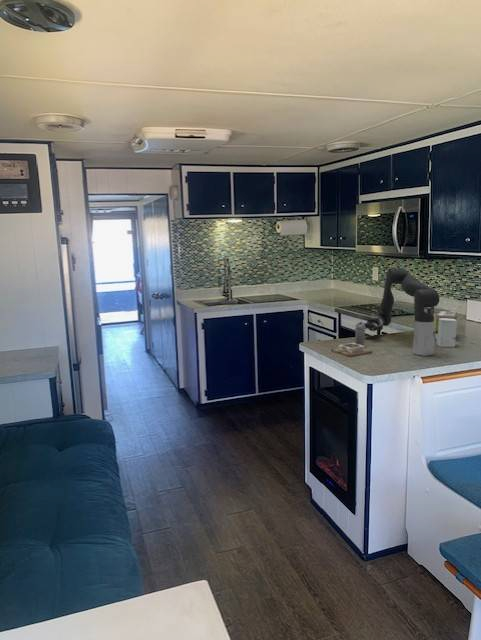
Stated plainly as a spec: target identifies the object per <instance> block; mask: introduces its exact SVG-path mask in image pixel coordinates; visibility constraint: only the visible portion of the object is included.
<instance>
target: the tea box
mask: <svg viewBox="0 0 481 640" xmlns="http://www.w3.org/2000/svg"><path fill="white" fill-rule="evenodd" d="M439 318H446V319H455V320H457V321H458V311H450V310H449V311H448V310H447V311H446V310H445V311H443V310H439V312H438V313H437V314H436V317H435V340H436V341H437V337H438V325H439ZM457 329H458V328H457ZM457 329H456V336H457V333H458V331H457Z"/></svg>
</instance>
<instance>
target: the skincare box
mask: <svg viewBox="0 0 481 640" xmlns="http://www.w3.org/2000/svg"><path fill="white" fill-rule="evenodd" d="M456 329H458V319H457V320H455V319H446V318H439V325H438V337H437V340H436V345H437V346H438V347H440V348H442V347H443V348H444V347H445V348H447V347H448V348H451V347H452V348H456V339H457V335H456Z"/></svg>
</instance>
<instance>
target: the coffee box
mask: <svg viewBox="0 0 481 640" xmlns="http://www.w3.org/2000/svg"><path fill="white" fill-rule="evenodd" d="M424 311H425V312H426V313H428V314H431V315H433V316H434V317H435V315H434V314H435V307H426V308H424Z"/></svg>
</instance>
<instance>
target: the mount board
mask: <svg viewBox="0 0 481 640" xmlns="http://www.w3.org/2000/svg"><path fill="white" fill-rule="evenodd" d="M330 351H331V352H333V353H337V354H339V355H342V356H345V357H348V358H351V357H353V358H354V357H358V356H363V355H369V354H373V350H369V349H366V345H365V346H363V345H359V344H356V343H355V342H348V343H343V344H338V347H337V348H336V347H335V348H330Z"/></svg>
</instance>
